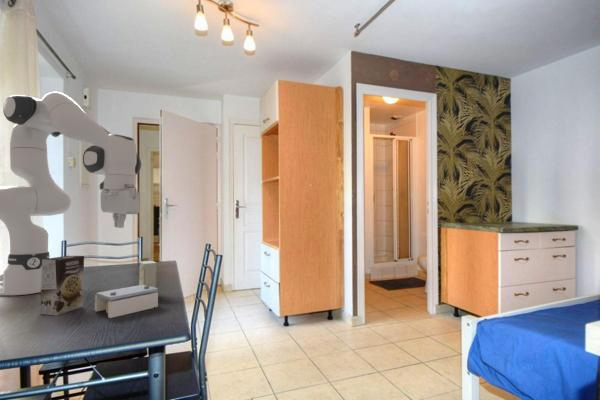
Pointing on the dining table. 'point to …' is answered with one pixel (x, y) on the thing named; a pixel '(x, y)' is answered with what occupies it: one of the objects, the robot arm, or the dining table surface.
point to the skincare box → (148, 273)
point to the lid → (126, 292)
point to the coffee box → (61, 284)
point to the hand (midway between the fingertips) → (119, 227)
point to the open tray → (127, 304)
